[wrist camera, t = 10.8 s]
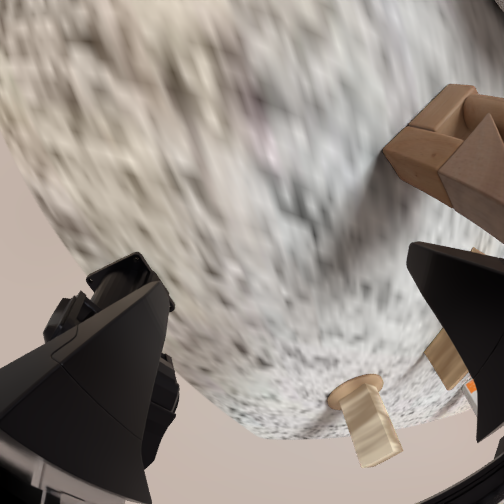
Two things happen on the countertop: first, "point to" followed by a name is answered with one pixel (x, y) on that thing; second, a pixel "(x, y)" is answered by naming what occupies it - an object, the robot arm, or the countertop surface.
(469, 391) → the skincare box
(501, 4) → the jar
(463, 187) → the wooden block
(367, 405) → the pale wood block
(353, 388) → the coaster
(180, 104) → the countertop surface
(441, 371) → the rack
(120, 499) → the robot arm
